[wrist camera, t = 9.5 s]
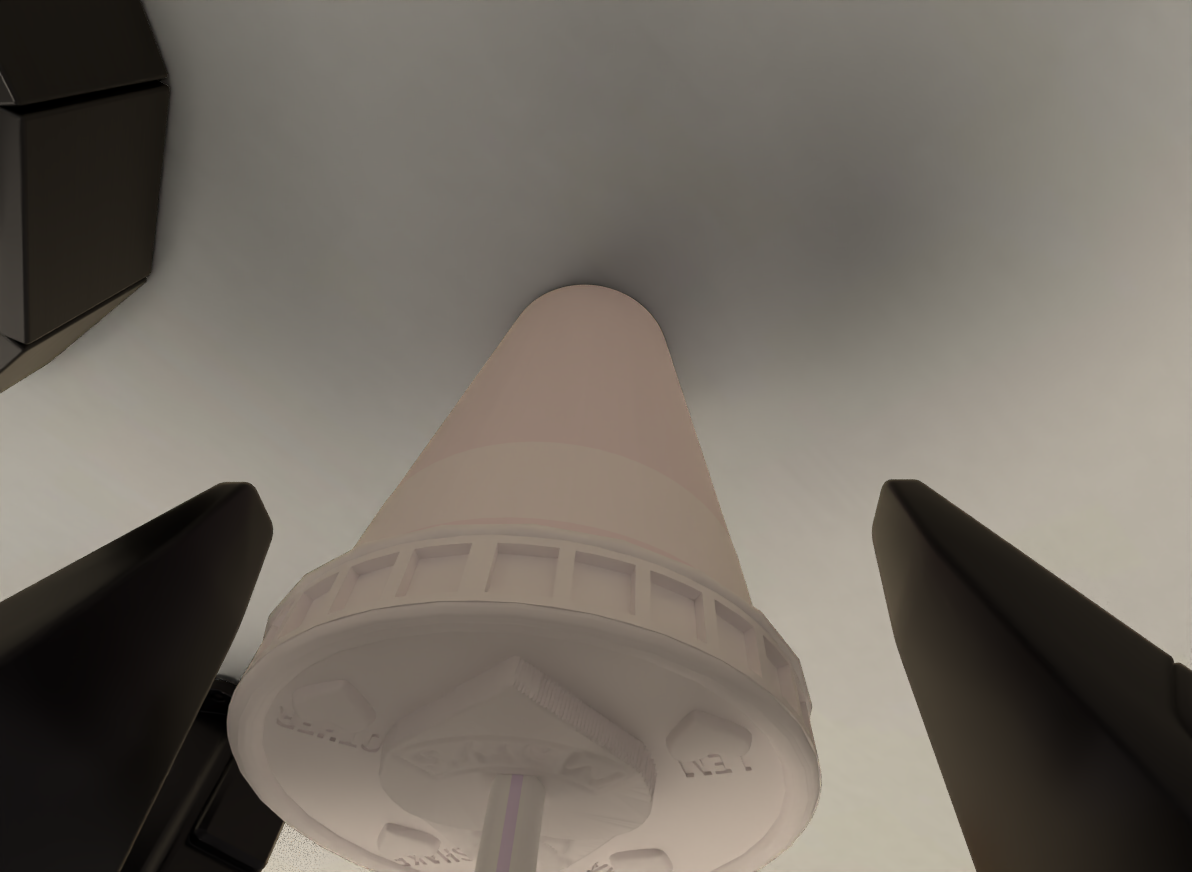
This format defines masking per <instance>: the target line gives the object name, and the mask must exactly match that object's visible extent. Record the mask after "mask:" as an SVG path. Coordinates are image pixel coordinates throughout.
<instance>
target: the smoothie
mask: <svg viewBox="0 0 1192 872" xmlns="http://www.w3.org/2000/svg"><path fill="white" fill-rule="evenodd" d="M811 710H812V703H811V700H810V696H809V693H808V689H807V685H806V682H805V678H804V675H803V671H802V667H801V664H800V660H799V658H798V657H797V656H796V654H795V653H794V652H793V651H792V649H791V648H790V647H789V646H788V644H787V643H786V642H785V641H784V639H783V638H782V637H781V636H780V634H779V633H778V632H777V631H776V629H775V628H774V627H773V626H772V624H771V623H770V622H769V620H768V619H767V618H766V617H765V615H764V614H763V613H762V612H761V611H759V610H758V609H757V608H755V607H754V606H753V605H752V602H751V599H750V596H749V592H748V589H747V586H746V582H745V579H744V576H743V573H742V569H741V566H740V563H739V559H738V556H737V554H736V551H735V549H734V546H733V544H732V541H731V538H730V535H729V532H728V529H727V526H726V523H725V520H724V517H723V514H722V511H721V508H720V505H719V502H718V499H717V496H716V493H715V490H714V487H713V484H712V481H711V478H710V474H709V471H708V468H707V465H706V462H705V459H704V456H703V453H702V450H701V447H700V444H699V441H698V438H697V435H696V432H695V429H694V426H693V423H692V420H691V417H690V414H689V411H688V408H687V405H686V402H685V398H684V395H683V392H682V389H681V386H680V383H679V380H678V377H677V374H676V371H675V368H674V365H673V362H672V359H671V356H670V353H669V350H668V347H667V344H666V341H665V338H664V335H663V333H662V331H661V329H660V327H659V325H658V323H657V322H656V320H655V319H654V318H653V316H652V315H651V314H650V313H649V312H648V311H647V310H646V309H645V308H644V307H643V306H642V305H641V304H640V303H638V302H637V301H635V300H634V299H632V298H631V297H629V296H627V295H625V294H624V293H621V292H619V291H616V290H613V289H610V288H607V287H602V286H596V285H573V286H566V287H563V288H559V289H556V290H553V291H550V292H548V293H546V294H544V295H542V296H541V297H539V298H538V299H536V300H535V301H534V302H532V303H531V304H530V305H529V306H528V307H527V308H526V309H525V310H524V311H523V312H522V313H521V315H520V316H519V317H518V319H517V320H516V321H515V323H514V324H513V326H512V327H511V328H510V330H509V331H508V333H507V334H506V335H505V337H504V338H503V340H502V341H501V342H500V344H499V345H498V347H497V348H496V349H495V351H494V352H493V354H492V355H491V356H490V358H489V359H488V361H487V362H486V363H485V365H484V366H483V368H482V369H481V370H480V372H479V373H478V375H477V376H476V377H475V379H474V380H473V382H472V383H471V384H470V386H469V387H468V389H467V390H466V391H465V393H464V394H463V396H462V397H461V398H460V400H459V401H458V403H457V404H456V405H455V407H454V408H453V410H452V411H451V412H450V414H449V415H448V417H447V418H446V419H445V421H444V422H443V424H442V425H441V426H440V428H439V429H438V431H437V432H436V433H435V435H434V436H433V438H432V439H431V440H430V442H429V443H428V445H427V446H426V447H425V449H424V450H423V452H422V453H421V454H420V456H419V457H418V459H417V460H416V461H415V463H414V464H413V466H412V467H411V468H410V470H409V471H408V472H407V474H406V475H405V477H404V478H403V479H402V481H401V482H400V484H399V485H398V486H397V488H396V489H395V491H394V492H393V493H392V495H391V496H390V497H389V498H388V499H387V500H386V501H385V503H384V504H383V506H382V507H381V509H380V510H379V512H378V513H377V515H376V516H375V517H374V519H373V520H372V522H371V523H370V525H369V526H368V528H367V529H366V531H365V532H364V534H363V535H362V537H361V538H360V539H359V541H358V542H357V544H356V545H355V547H354V548H353V549H352V550H350V551H348V552H346V553H345V554H343V555H341V556H339V557H337V558H335V559H333V560H331V561H330V562H328V563H326V564H324V565H322V566H320V567H318V568H317V569H315V570H313V571H311V572H309V573H307V574H306V575H304V577H303V578H302V579H301V580H300V581H299V582H298V583H297V584H296V586H295V587H294V588H293V589H292V590H291V591H290V592H289V594H288V595H287V596H286V597H285V598H284V599H283V600H282V602H281V603H280V604H279V605H278V606H277V607H276V608H275V609H274V611H273V612H272V613H271V614H270V615H269V618H268V622H267V626H266V630H265V634H264V637H263V641H262V644H261V645H260V647H259V649H258V651H257V652H256V654H255V656H254V658H253V659H252V661H251V663H250V665H249V666H248V668H247V670H246V672H245V673H244V675H243V677H242V679H241V680H240V682H239V684H238V685H237V687H236V689H235V691H234V693H233V696H232V699H231V701H230V704H229V708H228V716H227V733H228V740H229V743H230V747H231V751H232V753H233V756H234V758H235V760H236V762H237V765H238V768H239V770H240V772H241V774H242V775H243V776H244V778H245V779H246V781H247V782H248V783H249V785H250V786H251V787H252V789H253V790H254V792H255V793H256V794H257V796H258V797H259V798H260V800H261V801H262V802H264V803H265V804H266V805H267V806H268V807H269V808H270V809H271V810H272V811H273V812H275V813H276V814H277V815H278V816H279V817H280V818H281V819H282V820H283V821H284V822H286V823H287V824H288V825H289V826H291V827H292V828H294V829H295V830H297V831H298V832H300V833H301V834H303V835H304V836H306V837H307V838H309V839H310V840H312V841H313V842H315V843H316V844H318V845H319V846H321V847H323V848H325V849H327V850H329V851H331V852H333V853H335V854H337V855H339V856H341V857H343V858H345V859H347V860H349V861H351V862H353V863H355V864H357V865H359V866H362V867H364V868H367V869H369V870H372V871H375V872H755V871H757V870H759V869H761V868H763V867H765V866H766V865H767V864H768V863H770V862H771V861H772V860H774V859H775V858H776V857H778V856H779V855H780V854H782V853H783V852H784V851H786V850H787V849H788V848H789V847H791V845H792V844H793V843H794V842H795V840H796V839H797V838H798V837H799V835H800V834H801V833H802V832H803V831H804V830H805V828H806V827H807V825H808V824H809V822H810V821H811V819H812V817H813V815H814V813H815V810H816V808H817V806H818V802H819V798H820V793H821V770H820V765H819V759H818V755H817V750H816V746H815V742H814V737H813V733H812V728H811V724H810V715H811Z"/></svg>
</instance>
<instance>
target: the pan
mask: <svg viewBox="0 0 1192 872" xmlns="http://www.w3.org/2000/svg"><path fill="white" fill-rule="evenodd" d="M166 77H168V73H167V71H166V68H165V65H164V63H163V60H162V57H161V55H160V52H159V49H158V47H157V44H156V41H155V39H154V36H153V33H152V30H151V28H150V25H149V22H148V20H147V17H146V14H145V12H144V9H143V6H142V4H141V1H140V0H0V393H2V392H3V391H5V390H7V389H8V388H10V387H11V386H13V385H15V384H16V383H18V382H19V381H21V380H23V379H24V378H26V377H27V376H29V375H31V374H32V373H34V372H35V371H37V370H38V369H40V368H42V367H43V366H45V365H46V364H48V363H49V362H51V361H52V360H53V359H54V358H55V357H57V356H58V355H59V354H60V353H61V352H63V351H64V350H65V349H66V348H67V347H69V346H70V345H71V344H72V343H73V342H75V341H76V340H77V339H78V338H79V337H81V336H82V335H83V334H84V333H85V332H87V331H88V330H89V329H90V328H91V327H93V326H94V325H95V324H96V323H97V322H99V321H100V320H101V319H102V318H103V317H105V316H106V315H107V314H108V313H109V312H111V311H112V310H113V309H114V308H115V307H117V306H118V305H119V304H120V303H121V302H123V301H124V300H125V299H126V298H127V297H129V296H130V295H131V294H132V293H133V292H135V291H136V290H137V289H138V288H139V287H141V286H142V285H143V284H144V283H145V282H146V281H147V278H146V276H148V275H150V273H151V268H152V258H153V248H154V239H155V229H156V219H157V210H158V200H159V190H160V181H161V171H162V162H163V152H164V142H165V133H166V123H167V113H168V104H169V94H170V88H169V86H168V85H166V84H164V83H162V82H160V81H158V80H160V79H165V78H166Z"/></svg>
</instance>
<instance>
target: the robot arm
mask: <svg viewBox="0 0 1192 872" xmlns="http://www.w3.org/2000/svg"><path fill="white" fill-rule="evenodd" d="M272 536H273V526H272V522H271V519H270V517H269V515H268V513H267V511H266V509H265V507H264V504H263V502H262V500H261V498H260V496H259V494H258V492H257V490H256V488H255V487H254V486H253V485H252V484H250V483H247V482H223V483H219V484H217V485H215V486H213V487H212V488H210V489H208V490H206V491H204V492H202V493H200V494H199V495H197V496H195V497H193V498H191V499H189V500H188V501H186V502H184V503H182V504H180V505H178V506H177V507H175V508H173V509H171V510H169V511H167V512H166V513H164V514H162V515H160V516H158V517H156V518H155V519H153V520H151V521H149V522H147V523H145V524H143V525H142V526H140V527H138V528H136V529H134V530H132V531H131V532H129V533H127V534H125V535H123V536H121V537H120V538H118V539H116V540H114V541H112V542H110V543H109V544H107V545H105V546H103V547H101V548H99V549H97V550H96V551H94V552H92V553H90V554H88V555H86V556H85V557H83V558H81V559H79V560H77V561H75V562H74V563H72V564H70V565H68V566H66V567H64V568H63V569H61V570H59V571H57V572H55V573H53V574H52V575H50V576H48V577H46V578H44V579H42V580H40V581H39V582H37V583H35V584H33V585H31V586H29V587H28V588H26V589H24V590H22V591H20V592H18V593H17V594H15V595H13V596H11V597H9V598H7V599H6V600H4V601H2V602H0V872H261V871H262V869H263V868H264V867H265V866H266V864H267V863H268V860H269V858H270V856H271V853H272V851H273V849H274V847H275V844H276V842H277V840H278V837H279V835H280V833H281V831H282V828H283V826H284V824H285V822H284V821H283V820H282V819H281V818H280V817H279V816H278V815H277V814H276V813H275V812H273V811H272V810H271V809H270V808H269V807H268V806H267V805H266V804H265V803H264V802H262V801H261V800H260V798H259V797H258V796H257V794H256V793H255V792H254V790H253V789H252V787H251V786H250V785H249V783H248V782H247V781H246V779H245V778H244V776H243V775H242V774H241V772H240V770H239V768H238V765H237V762H236V760H235V758H234V756H233V753H232V751H231V747H230V743H229V740H228V733H227V716H228V708H229V704H230V701H231V699H232V696H233V693H234V691H235V689H236V686H234V685H233V684H231V683H229V682H227V681H224V680H217V679H216V680H214V679H215V677H216V675H217V673H218V671H219V669H220V667H221V665H222V663H223V661H224V659H225V657H226V654H227V652H228V650H229V648H230V646H231V644H232V642H233V640H234V638H235V636H236V633H237V631H238V629H239V626H240V624H241V621H242V619H243V616H244V614H245V611H246V609H247V606H248V603H249V600H250V598H251V595H252V592H253V590H254V587H255V584H256V581H257V579H258V576H259V573H260V571H261V568H262V565H263V562H264V560H265V557H266V554H267V551H268V549H269V546H270V543H271V540H272ZM872 540H873V545H874V549H875V554H876V558H877V563H878V567H879V572H880V576H881V581H882V585H883V590H884V594H885V599H886V603H887V608H888V612H889V617H890V621H891V626H892V630H893V634H894V638H895V642H896V645H897V648H898V651H899V654H900V657H901V660H902V663H903V666H904V669H905V671H906V674H907V677H908V680H909V683H910V685H911V688H912V691H913V694H914V697H915V700H916V702H917V705H918V708H919V711H920V714H921V717H922V719H923V722H924V725H925V728H926V731H927V733H928V736H929V739H930V742H931V745H932V748H933V750H934V753H935V756H936V759H937V762H938V764H939V767H940V770H941V773H942V776H943V779H944V781H945V784H946V787H947V790H948V793H949V796H950V798H951V801H952V804H953V807H954V810H955V812H956V815H957V818H958V821H959V824H960V827H961V829H962V832H963V835H964V838H965V841H966V844H967V846H968V849H969V852H970V855H971V858H972V860H973V863H974V866H975V869H976V872H1192V670H1190V669H1189V668H1187V667H1186V666H1184V665H1183V664H1181V663H1174V661H1173V658H1172V657H1171V656H1170V655H1168V654H1167V653H1165V652H1164V651H1163V650H1161V649H1160V648H1158V647H1157V646H1155V645H1154V644H1153V643H1151V642H1150V641H1148V640H1147V639H1145V638H1144V637H1143V636H1141V635H1140V634H1138V633H1137V632H1135V631H1134V630H1133V629H1131V628H1130V627H1128V626H1127V625H1125V624H1124V623H1123V622H1121V621H1120V620H1118V619H1117V618H1115V617H1114V616H1113V615H1111V614H1110V613H1108V612H1107V611H1105V610H1104V609H1103V608H1101V607H1100V606H1098V605H1097V604H1095V603H1094V602H1093V601H1091V600H1090V599H1088V598H1087V597H1085V596H1084V595H1083V594H1081V593H1080V592H1078V591H1077V590H1075V589H1074V588H1073V587H1071V586H1070V585H1068V584H1067V583H1065V582H1064V581H1063V580H1061V579H1060V578H1058V577H1057V576H1055V575H1054V574H1053V573H1051V572H1050V571H1048V570H1047V569H1045V568H1044V567H1043V566H1041V565H1040V564H1038V563H1037V562H1035V561H1034V560H1033V559H1031V558H1030V557H1028V556H1027V555H1025V554H1024V553H1023V552H1021V551H1020V550H1018V549H1017V548H1015V547H1014V546H1013V545H1011V544H1010V543H1008V542H1007V541H1005V540H1004V539H1003V538H1001V537H1000V536H998V535H997V534H995V533H994V532H993V531H991V530H990V529H988V528H987V527H985V526H984V525H983V524H981V523H980V522H978V521H977V520H975V519H974V518H973V517H971V516H970V515H968V514H967V513H965V512H964V511H963V510H961V509H960V508H958V507H957V506H955V505H954V504H953V503H951V502H950V501H948V500H947V499H945V498H944V497H943V496H941V495H940V494H938V493H937V492H935V491H934V490H933V489H931V488H930V487H928V486H927V485H925V484H924V483H922V482H921V481H919V480H915V479H891V480H888V481H886V482H885V483H884V484H883V486H882V489H881V492H880V497H879V501H878V505H877V509H876V513H875V517H874V521H873V525H872Z"/></svg>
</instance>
